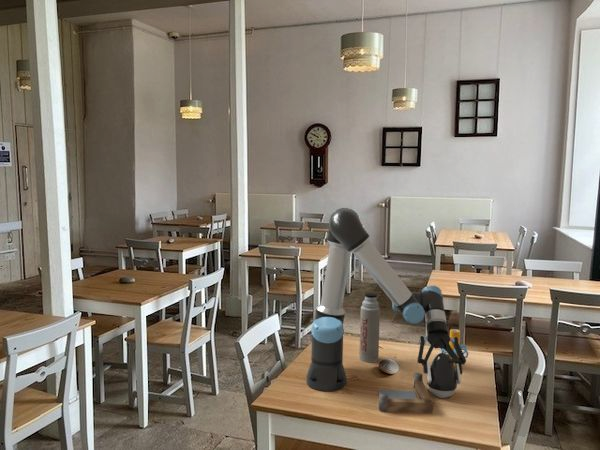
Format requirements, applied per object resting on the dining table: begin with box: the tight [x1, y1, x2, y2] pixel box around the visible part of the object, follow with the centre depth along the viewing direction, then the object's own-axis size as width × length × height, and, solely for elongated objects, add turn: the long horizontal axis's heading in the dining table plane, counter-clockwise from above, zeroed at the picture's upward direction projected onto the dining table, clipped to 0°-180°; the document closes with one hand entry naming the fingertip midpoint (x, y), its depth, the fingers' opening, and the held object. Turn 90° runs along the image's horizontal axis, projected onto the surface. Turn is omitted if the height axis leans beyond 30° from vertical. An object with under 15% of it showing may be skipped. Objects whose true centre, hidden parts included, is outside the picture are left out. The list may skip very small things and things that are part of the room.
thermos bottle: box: [358, 292, 381, 363], centre depth 209 cm, size 8×8×28 cm
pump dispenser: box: [426, 352, 458, 399], centre depth 177 cm, size 10×10×15 cm
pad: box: [377, 389, 418, 399], centre depth 173 cm, size 13×13×1 cm
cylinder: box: [440, 328, 469, 368], centre depth 203 cm, size 12×10×15 cm
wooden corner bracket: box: [378, 372, 434, 414], centre depth 174 cm, size 18×21×5 cm
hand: (444, 382), depth 174 cm, fingers closed on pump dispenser, 9 cm apart
